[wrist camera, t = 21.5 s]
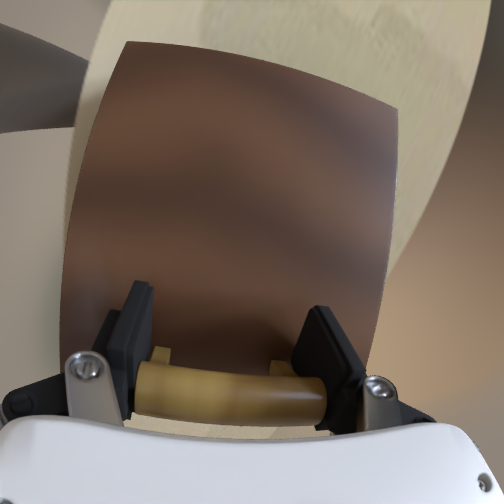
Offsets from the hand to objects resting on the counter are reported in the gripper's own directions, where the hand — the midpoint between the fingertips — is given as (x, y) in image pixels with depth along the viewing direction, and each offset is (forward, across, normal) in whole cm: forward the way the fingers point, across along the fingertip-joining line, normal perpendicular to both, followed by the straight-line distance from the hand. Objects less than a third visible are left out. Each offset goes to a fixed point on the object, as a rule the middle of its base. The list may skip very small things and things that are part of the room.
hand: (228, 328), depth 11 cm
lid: (+3, 0, -3) cm, 4 cm away
